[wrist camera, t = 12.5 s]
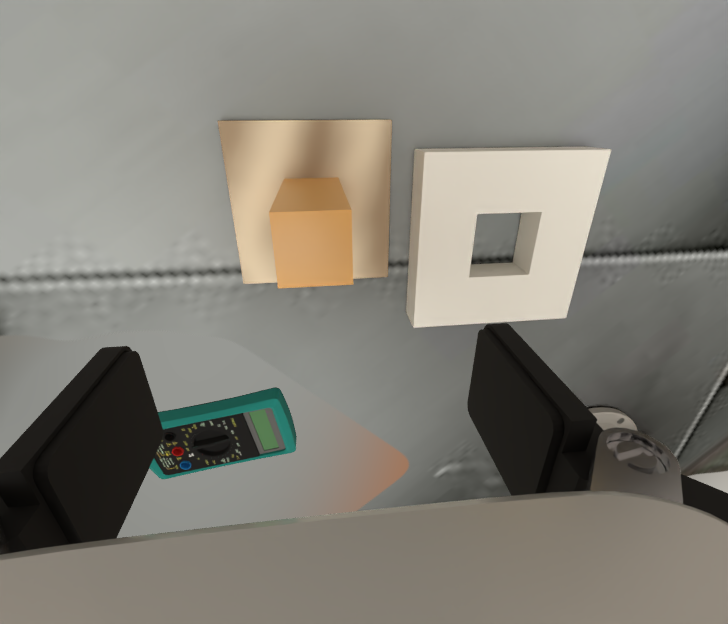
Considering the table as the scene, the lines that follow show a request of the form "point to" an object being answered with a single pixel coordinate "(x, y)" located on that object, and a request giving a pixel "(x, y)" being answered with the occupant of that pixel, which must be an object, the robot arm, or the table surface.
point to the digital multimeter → (224, 433)
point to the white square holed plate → (534, 240)
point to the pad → (308, 160)
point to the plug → (312, 233)
